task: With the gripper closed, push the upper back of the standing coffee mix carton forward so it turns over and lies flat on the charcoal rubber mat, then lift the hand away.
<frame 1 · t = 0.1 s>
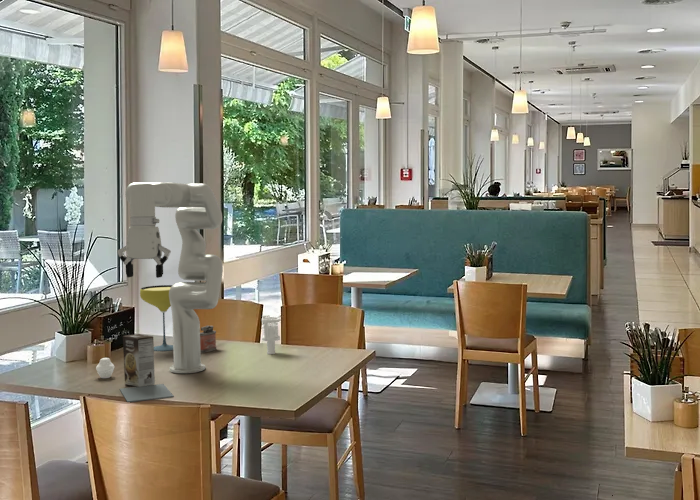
hand: (144, 277, 240), 37 cm above the table, tool pointing down, fingers open, 9 cm apart
lighter: (208, 350, 308), on the table
white rounded jar: (105, 377, 265), on the table
coffee box: (139, 384, 254), on the table, touching rubber mat
cocktail glass: (164, 348, 313), on the table
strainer: (271, 353, 302), on the table
rubber mat: (146, 393, 243), on the table
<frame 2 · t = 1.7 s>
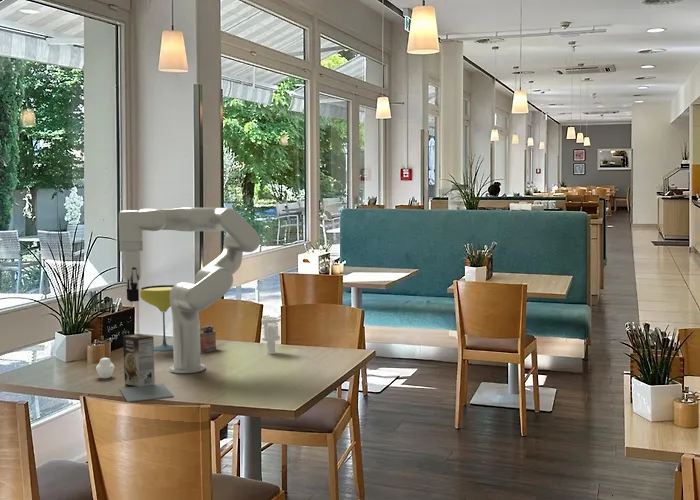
hand: (132, 300, 260), 27 cm above the table, tool pointing down, fingers open, 3 cm apart
nothing on the table moved.
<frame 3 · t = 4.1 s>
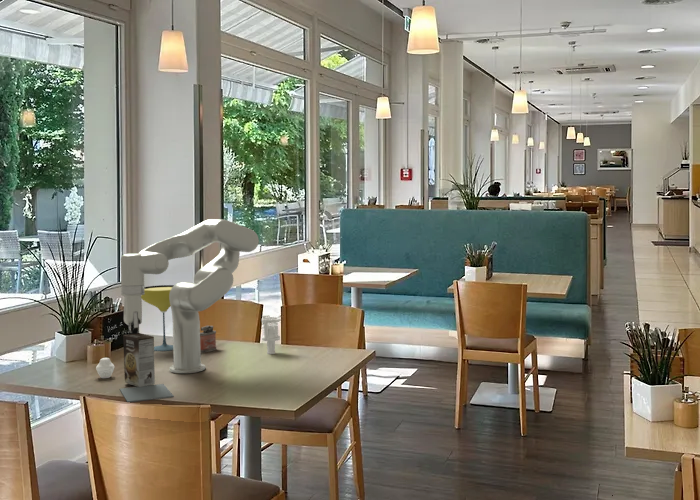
hand: (134, 343, 260), 12 cm above the table, tool pointing down, fingers closed
coffee box: (139, 383, 254), on the table, touching gripper, rubber mat
everything else where it was.
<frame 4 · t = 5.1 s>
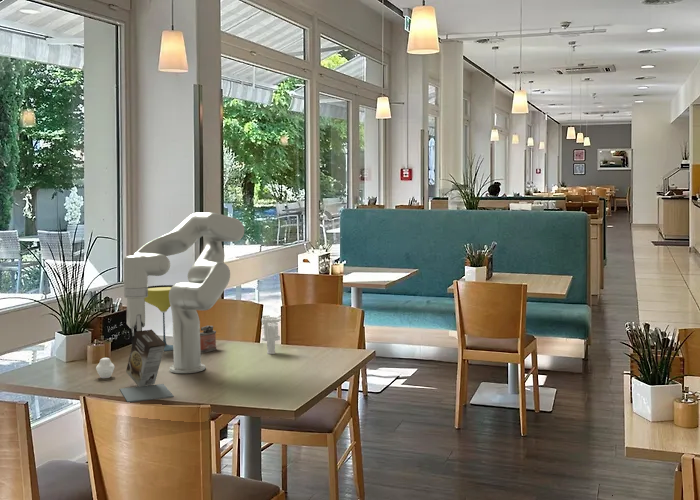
hand: (137, 347, 254), 12 cm above the table, tool pointing down, fingers closed
coffee box: (140, 378, 254), point 2 cm above the table, touching rubber mat
everything else where it was.
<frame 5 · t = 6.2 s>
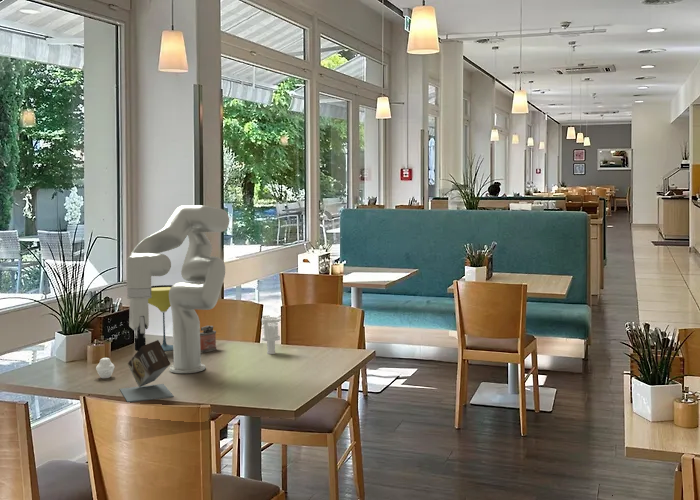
hand: (140, 350, 247), 13 cm above the table, tool pointing down, fingers closed
coffee box: (141, 372, 252), point 5 cm above the table, touching gripper, rubber mat
everything else where it was.
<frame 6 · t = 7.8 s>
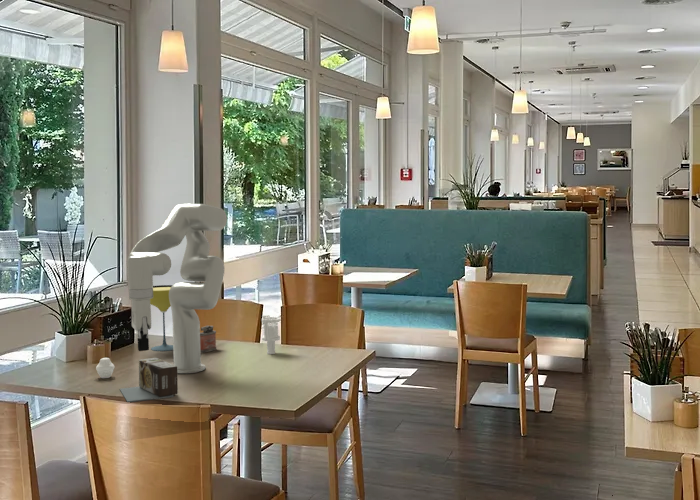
hand: (143, 350, 247), 13 cm above the table, tool pointing down, fingers closed
coffee box: (147, 372, 251), point 5 cm above the table, touching rubber mat
everything else where it was.
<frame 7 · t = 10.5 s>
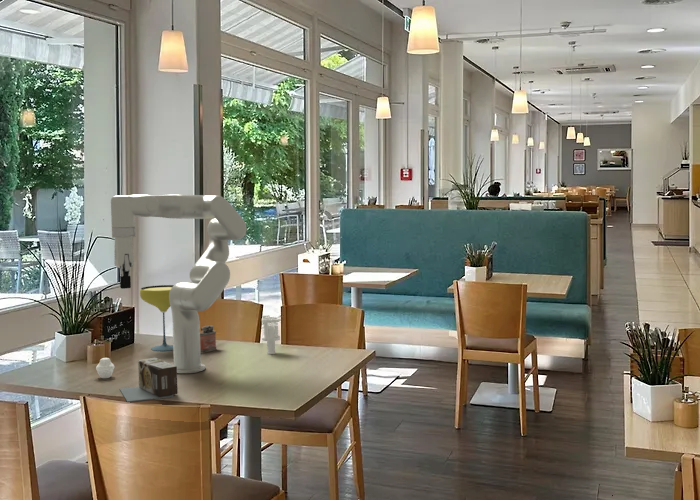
hand: (125, 287, 254), 32 cm above the table, tool pointing down, fingers closed
nothing on the table moved.
at the end: coffee box tilted 89°; coffee box inside the target area (3.3 cm from its centre), point 4.8 cm above the table; coffee box touching rubber mat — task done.
